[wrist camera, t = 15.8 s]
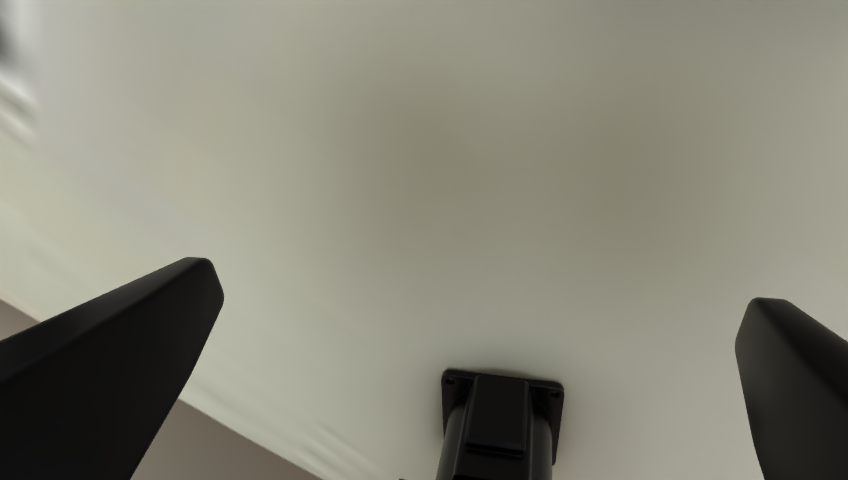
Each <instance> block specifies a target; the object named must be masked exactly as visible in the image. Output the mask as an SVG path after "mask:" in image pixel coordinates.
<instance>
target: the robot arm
mask: <svg viewBox="0 0 848 480" xmlns="http://www.w3.org/2000/svg"><path fill="white" fill-rule="evenodd" d="M223 302H224V293H223V289H222V287H221V284H220V282H219V279H218V276H217V274H216V271H215V268H214V266H213V264H212V262H211V261H210V260H209V259H206V258H198V257H186V258H183V259H181V260H179V261H177V262H174V263H172V264H170V265H168V266H165V267H163V268H161V269H159V270H157V271H154V272H152V273H150V274H148V275H145V276H143V277H141V278H139V279H137V280H134V281H132V282H130V283H128V284H125V285H123V286H121V287H119V288H117V289H114V290H112V291H110V292H108V293H105V294H103V295H101V296H99V297H97V298H94V299H92V300H90V301H88V302H85V303H83V304H81V305H79V306H77V307H74V308H72V309H70V310H68V311H65V312H63V313H61V314H59V315H57V316H54V317H52V318H50V319H48V320H45V321H43V322H41V323H39V324H37V325H34V326H32V327H30V328H28V329H26V330H23V331H21V332H19V333H17V334H14V335H12V336H10V337H8V338H5V339H3V340H1V341H0V480H130V479H131V477H132V475H133V474H134V472H135V470H136V469H137V467H138V465H139V463H140V462H141V460H142V458H143V457H144V455H145V453H146V451H147V449H148V448H149V446H150V445H151V443H152V441H153V439H154V438H155V436H156V434H157V432H158V431H159V429H160V427H161V426H162V424H163V422H164V420H165V419H166V417H167V415H168V414H169V412H170V410H171V408H172V407H173V405H174V403H175V402H176V400H177V398H178V396H179V395H180V393H181V391H182V390H183V388H184V386H185V384H186V382H187V381H188V379H189V377H190V375H191V373H192V371H193V369H194V367H195V365H196V363H197V361H198V358H199V356H200V354H201V352H202V350H203V347H204V345H205V343H206V341H207V339H208V337H209V334H210V332H211V330H212V328H213V326H214V323H215V321H216V319H217V317H218V315H219V312H220V310H221V308H222V305H223ZM735 353H736V358H737V364H738V369H739V374H740V379H741V384H742V389H743V394H744V399H745V404H746V409H747V414H748V419H749V424H750V429H751V434H752V438H753V443H754V447H755V450H756V454H757V457H758V460H759V464H760V467H761V470H762V473H763V476H764V479H765V480H848V342H847V341H845V340H844V339H842V338H841V337H840V336H838V335H837V334H835V333H834V332H832V331H831V330H829V329H828V328H827V327H825V326H824V325H822V324H821V323H819V322H818V321H816V320H815V319H813V318H812V317H811V316H809V315H808V314H806V313H805V312H803V311H802V310H800V309H799V308H797V307H796V306H795V305H793V304H792V303H790V302H788V301H787V300H784V299H775V298H761V297H757V298H754V299H752V300H751V301H750V303H749V304H748V307H747V309H746V312H745V315H744V317H743V320H742V323H741V326H740V328H739V331H738V334H737V337H736V341H735ZM449 378H451V379H453V380H451V379H449ZM441 385H442V407H443V429H444V442H443V447H442V452H441V457H440V461H439V466H438V471H437V476H436V480H552V466H553V465H554V464H555V461H556V453H557V446H558V439H559V431H560V424H561V416H562V409H563V401H564V387H563V386H562V385H561V384H559V383H555V382H548V381H539V380H531V379H523V378H515V377H506V376H498V375H490V374H482V373H473V372H465V371H457V370H446V371H445V372H444V373H443V376H442V380H441ZM554 391H555V393H554ZM399 480H404V479H399Z"/></svg>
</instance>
